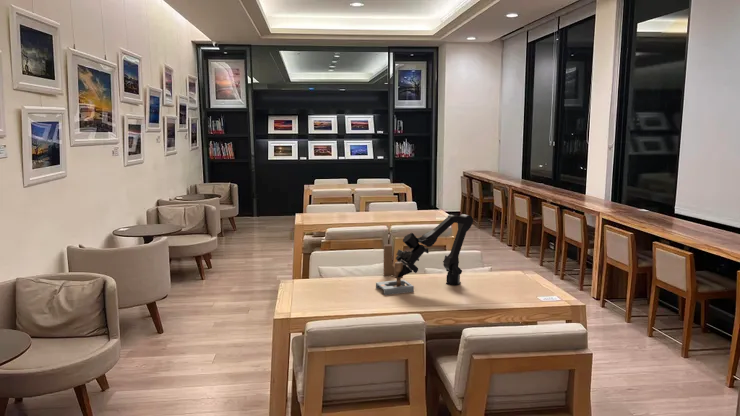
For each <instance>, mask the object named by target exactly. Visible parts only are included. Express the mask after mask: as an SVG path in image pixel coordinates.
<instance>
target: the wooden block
mask: <svg viewBox="0 0 740 416" xmlns="http://www.w3.org/2000/svg"><path fill="white" fill-rule="evenodd" d="M394 273H395V264H393V245H392V244H390V243H389V244H388V243H387V244H383V276H384V277H395V275H394Z"/></svg>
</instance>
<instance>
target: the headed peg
mask: <svg viewBox="0 0 740 416" xmlns="http://www.w3.org/2000/svg"><path fill="white" fill-rule="evenodd" d="M394 266H395V276H394V279H396V280H397V285H396V286H393V287H398V286H401V280H402V279H403V278H404V276H402V277H399V278H398V277H397V276H398V274H399V273H400V272H401V270H402V269H403V262H397V261H395V262H394Z"/></svg>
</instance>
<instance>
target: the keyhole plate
mask: <svg viewBox="0 0 740 416" xmlns="http://www.w3.org/2000/svg"><path fill="white" fill-rule="evenodd" d="M396 285H397V279H396V280H387V281H386V280H385V281H377V282H375V289H382V290H383V295H385V296H386V295H397V294H405V293H414V292H415V291H414V289H415V286H414V285H413V284H412V283H410V282H409V281H407V280H405V279H401V286H398V287H393V286H396Z"/></svg>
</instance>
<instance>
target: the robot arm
mask: <svg viewBox="0 0 740 416" xmlns="http://www.w3.org/2000/svg"><path fill="white" fill-rule="evenodd" d="M455 223H456V224H457V232H456V234H455V237H454V240H453V243H452V247H451V249H450V253H449V254H448V255H445V256H444V259H443V260H442V265H443V267H444V269H445V271H446V272H447V273H446V278H445V279H446V281H445V282H446V283H445V285H449V286H459V285H460V284H461V283H462V282H461V275H462V272H463V270H462V269H461V268H460V267H459V263H460V260H459V259H460V258H459V257H460V253H461V249H462V248H463V247H462V246H463V244H464V241H465V238H466V234H467V232H468V231H469V230H470V229H471V227H472V226H473V223H474V219H473V217H472V216H471V215H468V214H464V213H462V214H449V215H447V217H446V218H445V219H444V220H442V221H441V222H440V223H439V224H438V225H437V226H436V227H435V228H433V229H432V230H430V231H427V232H426V233H424V234H422V236H419V237H417V236H416V235H415V234H414V233H413V232H410V233H409V234H407V235H405V236H404V237H403V239H402V242H403V243H404V244H405V245H406V246H407V247H408V248H409V249H411V251H410V250H408V251H407V250H404V251H403V250H401V249H398V250H397V252H396V257H395V260H396V262H403V269H402V270H401V272H400V273H399V274H398V276H397V277H398V278H399V277H402V276H403V277H404V276H406V275H409V274H411V273H415V274H417V273H418V272H419V268H418V266H417V265H415V264H416V262H419V261H420V257H422V255H423V254H424V253H426V254H429V253H430V252H429V248H431V247H433V246H434V245H435V244H436V242H437V241H438V238H439V237H440V236H441V235H443V233H445V232H446V231H447V230H448V229H449V228H450V227H451V226H452V225H454V224H455ZM425 246H426V247H425ZM394 275H395V273H394Z"/></svg>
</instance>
